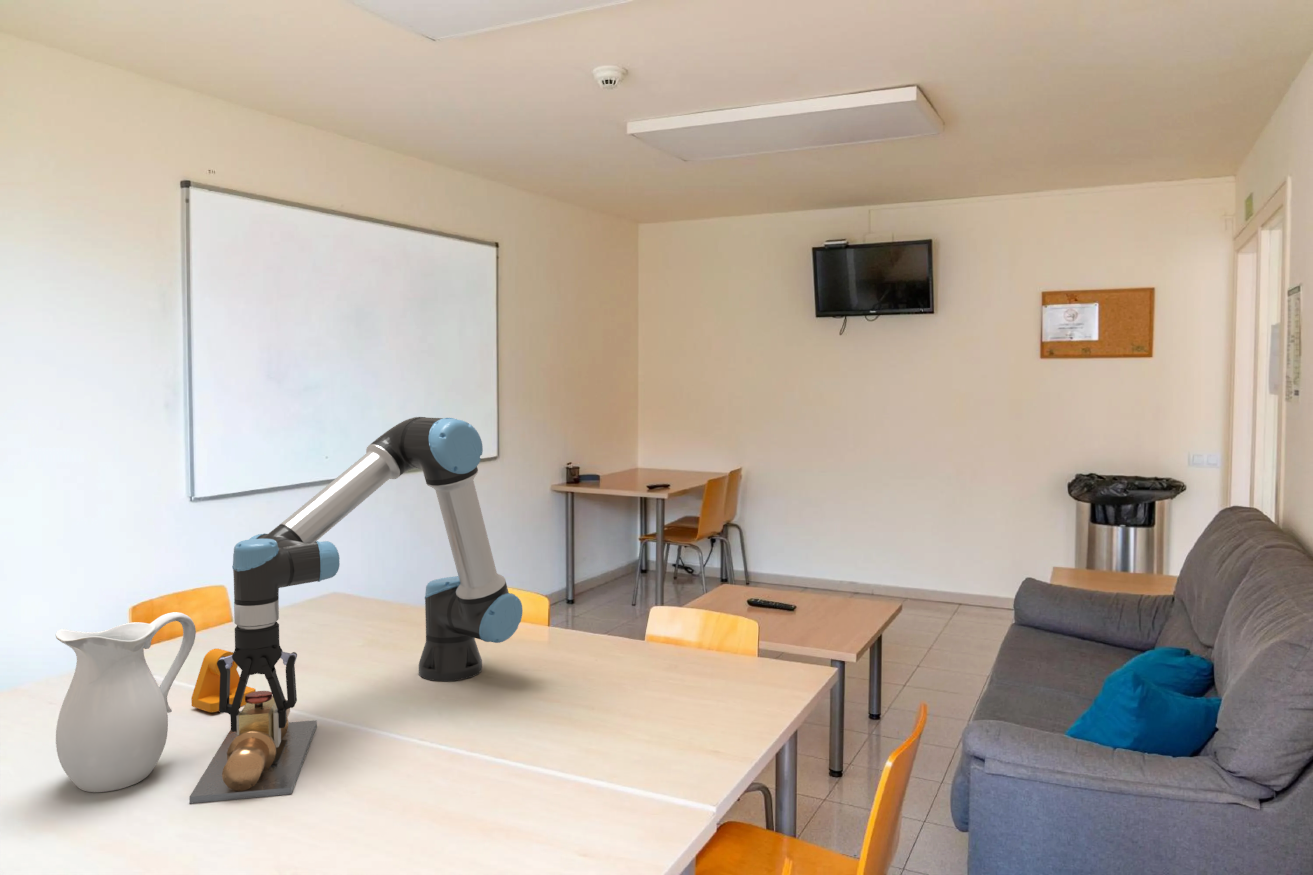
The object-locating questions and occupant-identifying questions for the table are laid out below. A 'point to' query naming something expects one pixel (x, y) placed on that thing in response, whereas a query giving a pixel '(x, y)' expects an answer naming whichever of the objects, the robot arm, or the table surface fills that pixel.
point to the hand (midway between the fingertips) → (259, 745)
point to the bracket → (215, 682)
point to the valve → (258, 713)
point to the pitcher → (116, 705)
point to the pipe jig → (255, 764)
